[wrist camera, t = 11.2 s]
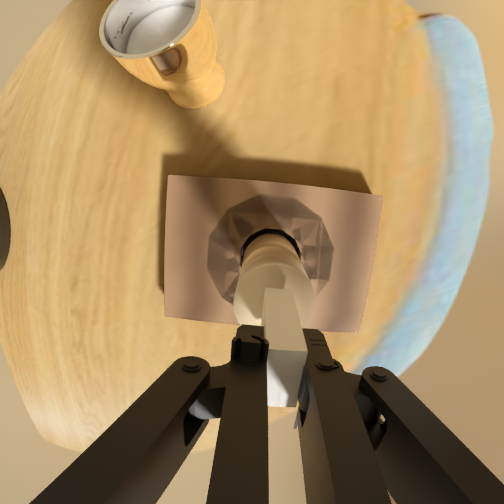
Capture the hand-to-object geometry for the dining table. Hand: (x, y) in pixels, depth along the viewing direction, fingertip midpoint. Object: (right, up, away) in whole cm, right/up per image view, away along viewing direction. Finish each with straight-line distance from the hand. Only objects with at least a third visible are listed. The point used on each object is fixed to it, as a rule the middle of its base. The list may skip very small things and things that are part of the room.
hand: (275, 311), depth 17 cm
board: (0, +3, +14) cm, 15 cm away
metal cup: (-7, +21, +11) cm, 24 cm away
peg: (0, +3, +14) cm, 15 cm away
